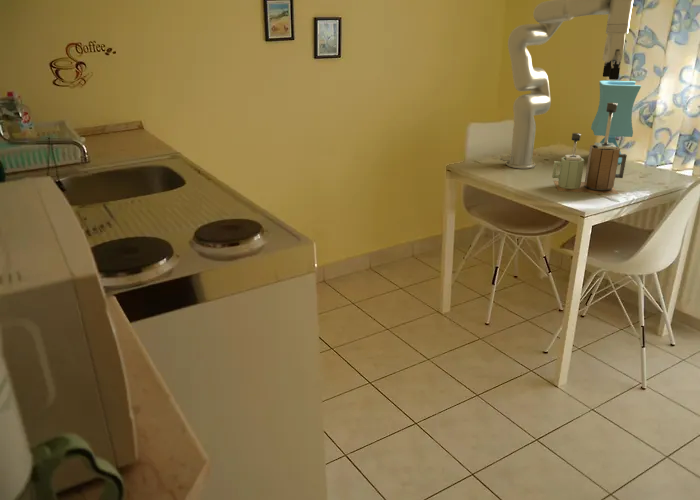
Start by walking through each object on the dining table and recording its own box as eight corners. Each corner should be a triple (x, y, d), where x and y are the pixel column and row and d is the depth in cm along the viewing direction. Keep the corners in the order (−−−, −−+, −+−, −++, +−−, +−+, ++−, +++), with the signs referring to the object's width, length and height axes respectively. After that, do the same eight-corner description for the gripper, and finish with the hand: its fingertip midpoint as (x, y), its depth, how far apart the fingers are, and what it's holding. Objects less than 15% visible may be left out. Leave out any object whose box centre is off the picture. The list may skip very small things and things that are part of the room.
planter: (627, 165, 260) (641, 85, 246) (590, 163, 264) (602, 84, 250) (621, 157, 274) (635, 81, 260) (586, 155, 278) (598, 80, 264)
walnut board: (557, 193, 223) (558, 190, 222) (553, 183, 235) (553, 180, 235) (618, 196, 219) (618, 193, 218) (610, 186, 231) (610, 183, 231)
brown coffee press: (587, 190, 222) (594, 147, 215) (582, 183, 231) (589, 141, 224) (623, 192, 220) (631, 148, 213) (617, 184, 229) (624, 142, 222)
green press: (552, 188, 225) (556, 158, 220) (550, 182, 232) (553, 153, 228) (581, 189, 223) (585, 159, 218) (577, 183, 230) (582, 154, 226)
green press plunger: (566, 167, 223) (571, 134, 218) (564, 164, 227) (569, 132, 222) (578, 168, 222) (584, 135, 217) (577, 165, 226) (581, 132, 221)
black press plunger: (596, 159, 219) (605, 104, 210) (593, 155, 224) (602, 101, 216) (613, 159, 217) (622, 104, 209) (609, 156, 223) (619, 102, 215)
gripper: (601, 28, 218) (594, 75, 225) (612, 30, 202) (605, 80, 209) (622, 28, 217) (614, 75, 223) (635, 30, 201) (627, 80, 208)
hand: (610, 78), depth 216 cm, fingers open, 9 cm apart
